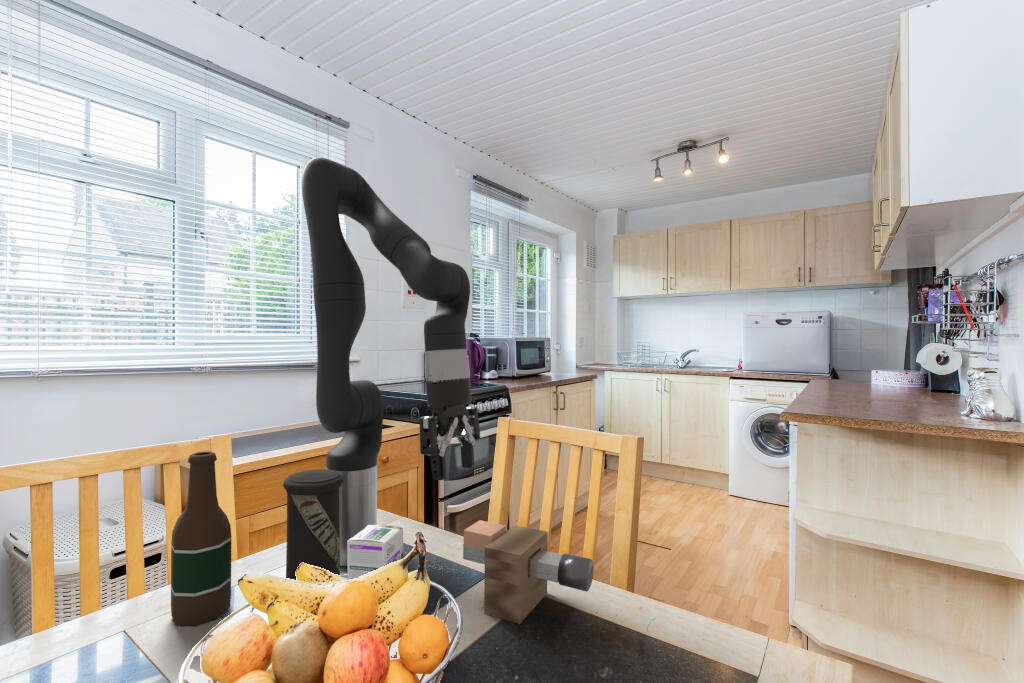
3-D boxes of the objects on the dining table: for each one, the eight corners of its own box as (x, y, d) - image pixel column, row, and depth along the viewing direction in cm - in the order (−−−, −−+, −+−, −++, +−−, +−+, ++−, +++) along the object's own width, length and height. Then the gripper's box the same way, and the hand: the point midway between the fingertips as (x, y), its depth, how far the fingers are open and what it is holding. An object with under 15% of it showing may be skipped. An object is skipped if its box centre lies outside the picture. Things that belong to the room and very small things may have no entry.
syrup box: (386, 652, 65) (387, 542, 65) (345, 646, 66) (346, 538, 66) (404, 627, 70) (405, 526, 70) (366, 622, 71) (367, 522, 71)
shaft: (462, 565, 79) (462, 538, 79) (476, 555, 83) (476, 529, 83) (583, 597, 70) (583, 566, 70) (593, 583, 74) (593, 554, 74)
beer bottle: (242, 607, 75) (243, 450, 75) (191, 634, 68) (192, 461, 68) (210, 595, 79) (211, 445, 78) (157, 620, 71) (158, 456, 71)
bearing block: (484, 613, 74) (484, 547, 74) (514, 584, 83) (514, 525, 83) (519, 624, 71) (520, 555, 71) (547, 592, 80) (547, 531, 80)
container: (306, 619, 72) (307, 483, 72) (270, 602, 77) (271, 474, 77) (354, 593, 79) (354, 470, 79) (318, 579, 84) (319, 462, 84)
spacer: (463, 545, 79) (463, 530, 79) (479, 534, 83) (479, 520, 83) (490, 552, 76) (490, 536, 76) (505, 540, 81) (505, 525, 81)
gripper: (453, 375, 91) (459, 463, 91) (403, 381, 79) (409, 483, 78) (488, 373, 88) (494, 464, 87) (441, 378, 75) (448, 485, 75)
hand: (454, 473), depth 83 cm, fingers open, 8 cm apart
